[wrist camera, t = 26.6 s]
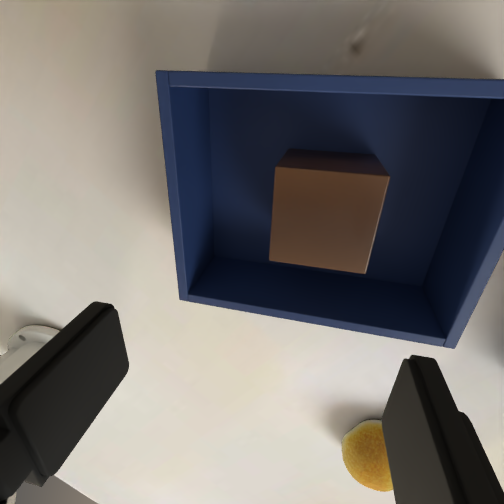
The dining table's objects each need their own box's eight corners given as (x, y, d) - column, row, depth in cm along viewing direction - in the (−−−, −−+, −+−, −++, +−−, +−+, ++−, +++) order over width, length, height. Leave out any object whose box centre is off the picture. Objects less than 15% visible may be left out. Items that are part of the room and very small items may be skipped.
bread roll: (341, 410, 28) (342, 454, 25) (448, 423, 26) (466, 474, 23) (341, 461, 32) (342, 505, 29) (435, 476, 30) (448, 526, 26)
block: (288, 147, 18) (274, 166, 14) (376, 154, 17) (391, 175, 13) (281, 225, 20) (268, 260, 16) (358, 234, 19) (366, 275, 15)
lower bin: (210, 257, 24) (179, 300, 19) (202, 75, 18) (154, 70, 13) (426, 289, 21) (454, 349, 16) (504, 84, 15) (587, 81, 10)
